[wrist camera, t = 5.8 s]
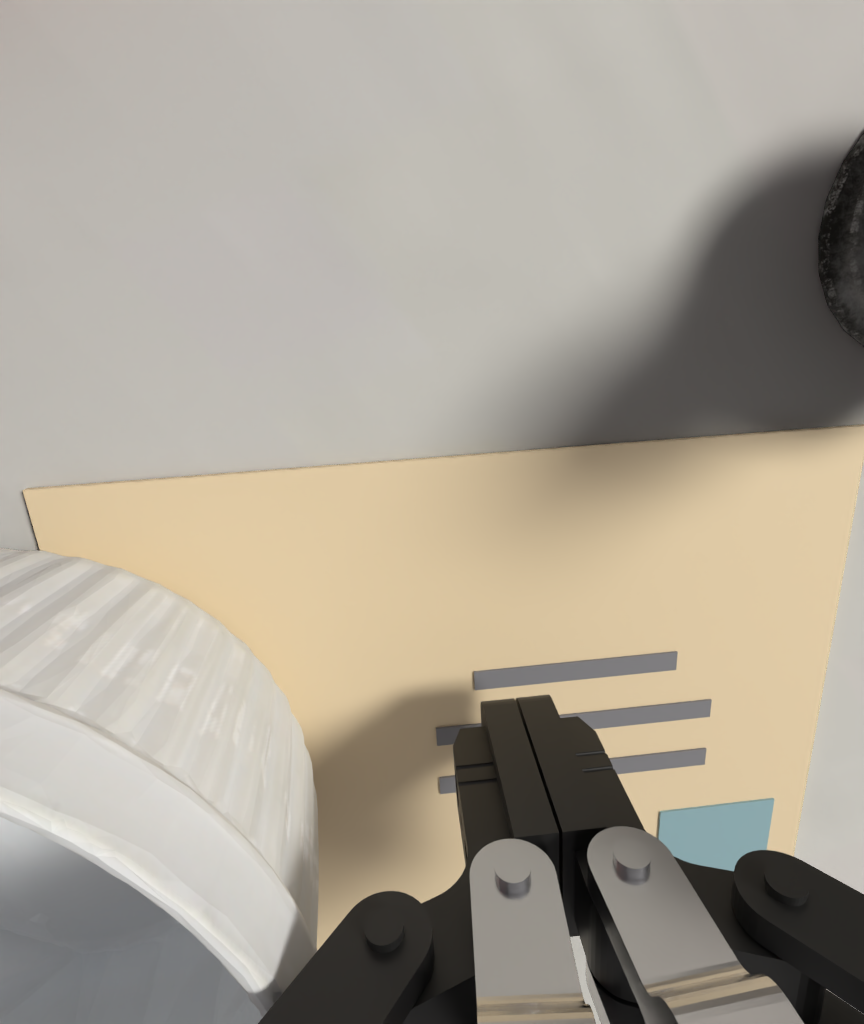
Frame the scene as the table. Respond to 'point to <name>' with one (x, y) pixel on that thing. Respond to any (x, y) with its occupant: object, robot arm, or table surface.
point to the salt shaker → (845, 245)
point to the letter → (516, 623)
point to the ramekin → (144, 807)
